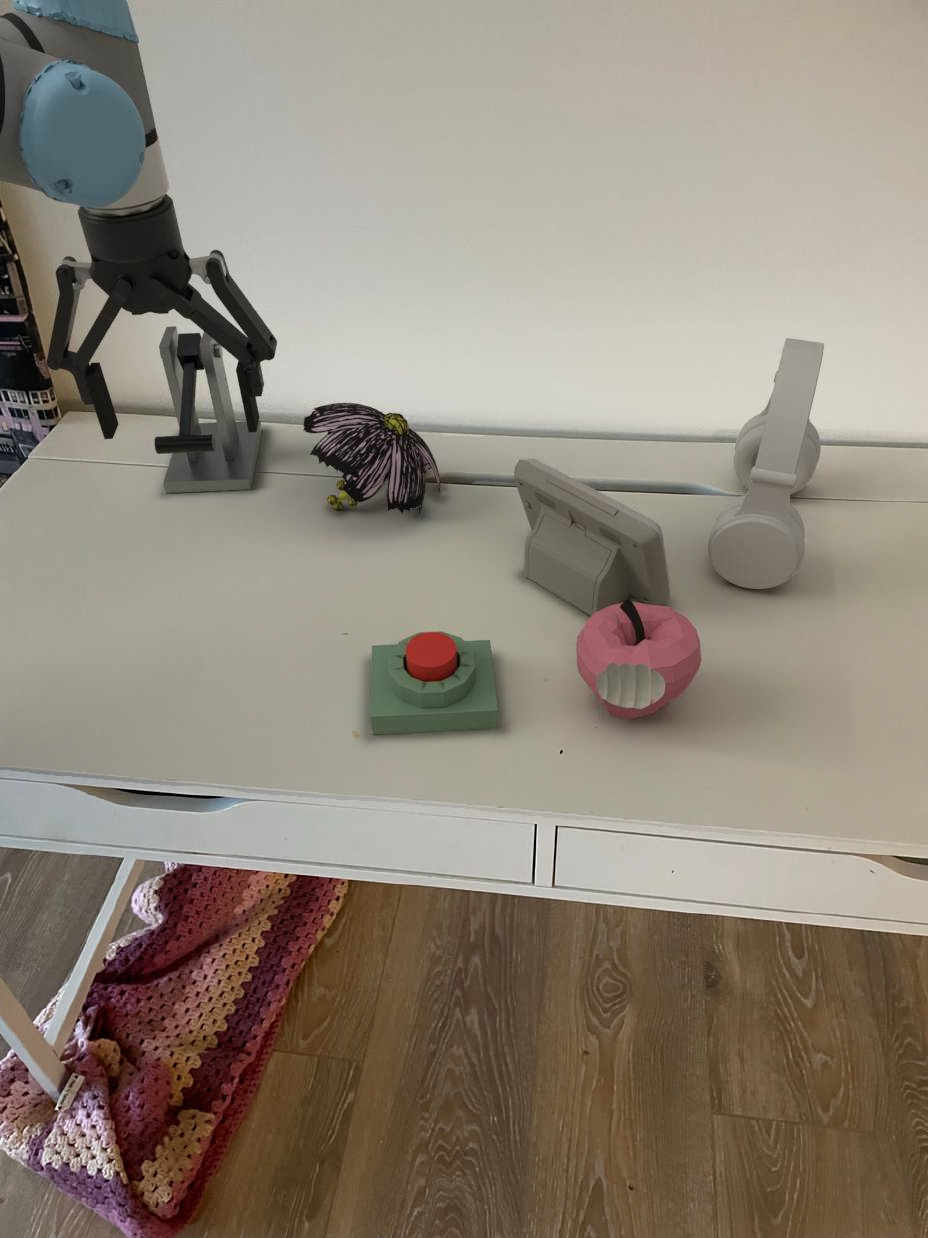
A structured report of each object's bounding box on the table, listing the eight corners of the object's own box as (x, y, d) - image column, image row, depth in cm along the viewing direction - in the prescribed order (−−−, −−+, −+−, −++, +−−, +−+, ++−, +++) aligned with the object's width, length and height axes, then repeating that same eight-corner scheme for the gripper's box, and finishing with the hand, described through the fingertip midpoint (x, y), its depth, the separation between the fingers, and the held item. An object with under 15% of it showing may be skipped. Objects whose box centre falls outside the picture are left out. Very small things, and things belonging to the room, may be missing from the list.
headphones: (730, 469, 101) (767, 296, 88) (810, 483, 99) (860, 308, 86) (698, 582, 88) (736, 397, 74) (791, 602, 85) (847, 415, 72)
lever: (216, 456, 92) (210, 443, 90) (159, 459, 92) (152, 445, 90) (221, 347, 97) (216, 331, 95) (168, 349, 97) (161, 333, 95)
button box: (372, 735, 75) (368, 701, 72) (373, 663, 80) (370, 629, 78) (497, 728, 75) (498, 694, 72) (490, 657, 81) (490, 623, 78)
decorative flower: (452, 457, 86) (296, 402, 85) (416, 566, 91) (269, 516, 91) (467, 416, 99) (332, 369, 98) (434, 514, 104) (306, 470, 103)
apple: (559, 727, 75) (567, 637, 68) (584, 654, 81) (593, 565, 74) (680, 756, 73) (700, 666, 66) (696, 679, 79) (716, 588, 72)
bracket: (250, 489, 100) (224, 361, 90) (165, 493, 100) (130, 365, 90) (262, 430, 109) (239, 307, 99) (184, 433, 108) (153, 310, 98)
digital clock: (679, 608, 85) (697, 513, 78) (601, 647, 81) (612, 551, 74) (568, 519, 95) (575, 428, 88) (495, 551, 92) (496, 458, 84)
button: (407, 683, 74) (406, 668, 72) (406, 648, 77) (405, 632, 75) (458, 681, 74) (457, 665, 73) (455, 645, 77) (455, 630, 76)
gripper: (282, 177, 79) (315, 401, 93) (-18, 189, 78) (62, 413, 92) (274, 209, 73) (310, 443, 88) (-49, 222, 73) (41, 455, 87)
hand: (183, 428), depth 90 cm, fingers open, 13 cm apart
